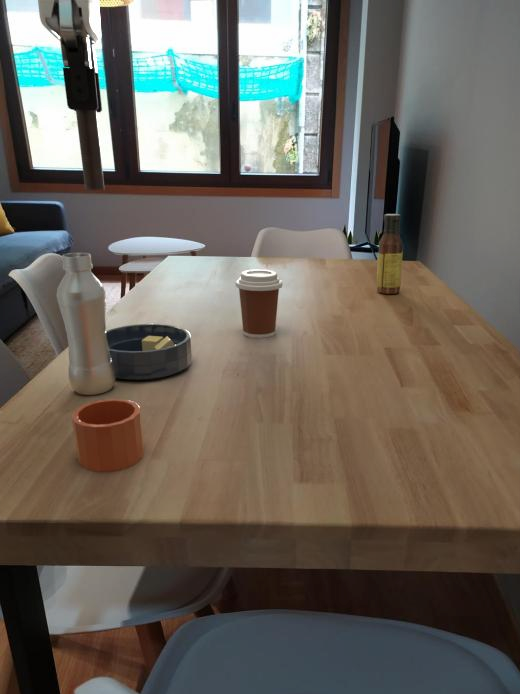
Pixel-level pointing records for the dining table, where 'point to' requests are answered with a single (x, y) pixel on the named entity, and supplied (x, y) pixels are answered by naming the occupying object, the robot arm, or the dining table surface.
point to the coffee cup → (259, 302)
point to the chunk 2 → (164, 343)
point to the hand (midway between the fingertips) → (85, 109)
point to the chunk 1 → (150, 342)
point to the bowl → (148, 363)
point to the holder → (108, 435)
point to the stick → (90, 149)
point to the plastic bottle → (85, 326)
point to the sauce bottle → (390, 257)
